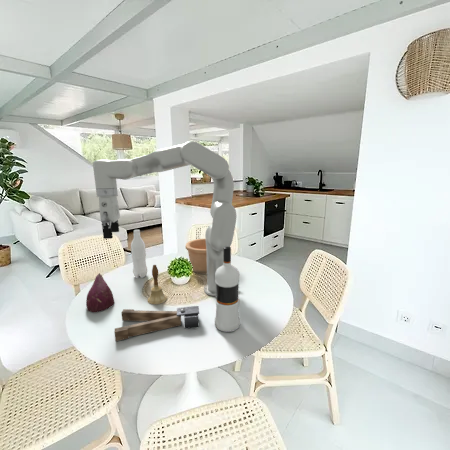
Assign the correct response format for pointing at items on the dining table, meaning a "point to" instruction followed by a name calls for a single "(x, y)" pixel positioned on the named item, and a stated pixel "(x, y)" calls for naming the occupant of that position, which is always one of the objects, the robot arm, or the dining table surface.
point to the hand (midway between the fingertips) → (111, 235)
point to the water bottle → (138, 255)
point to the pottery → (198, 255)
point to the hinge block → (189, 316)
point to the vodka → (227, 294)
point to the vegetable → (99, 296)
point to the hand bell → (156, 290)
